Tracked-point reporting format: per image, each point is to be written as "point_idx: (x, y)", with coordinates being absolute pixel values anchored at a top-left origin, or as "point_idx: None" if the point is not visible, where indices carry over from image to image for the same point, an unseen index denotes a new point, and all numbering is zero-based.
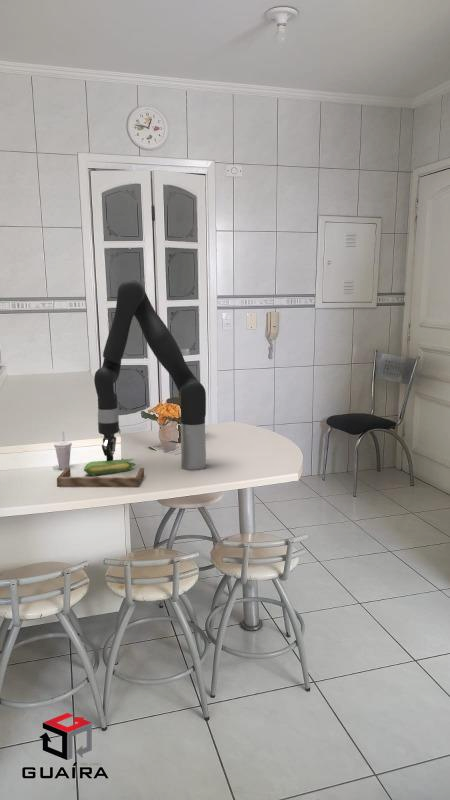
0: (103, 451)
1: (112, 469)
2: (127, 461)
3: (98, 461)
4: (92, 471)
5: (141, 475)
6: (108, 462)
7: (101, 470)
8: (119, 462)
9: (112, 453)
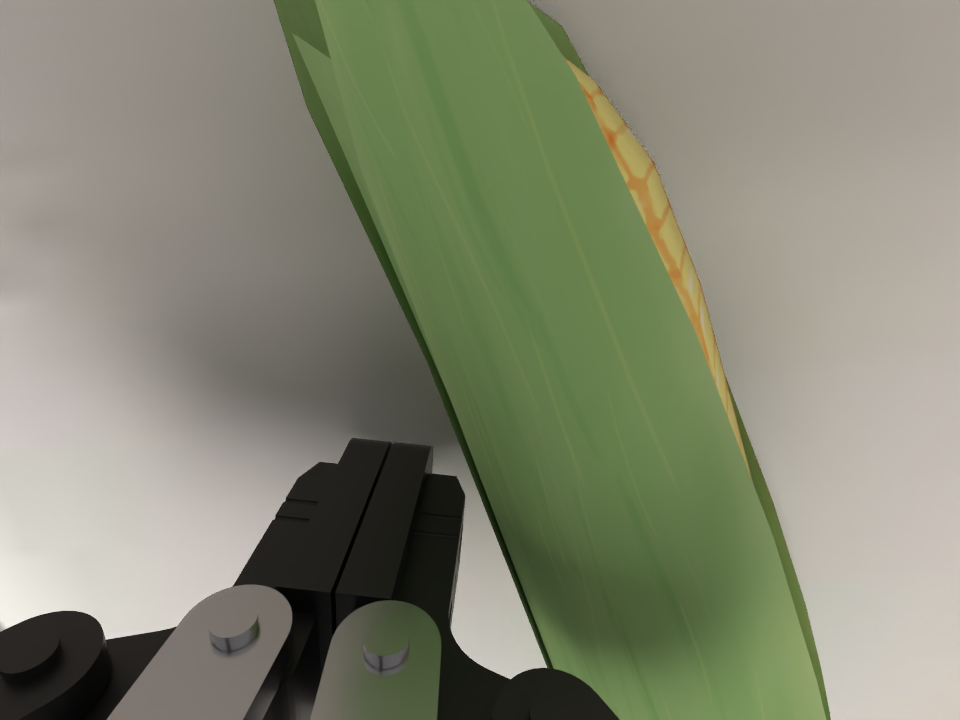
0: None
1: (734, 413)
2: (541, 66)
3: None
4: (827, 704)
5: None
6: (713, 590)
7: (801, 593)
8: (647, 322)
9: (363, 669)
